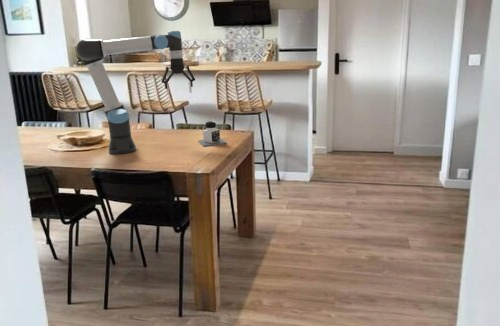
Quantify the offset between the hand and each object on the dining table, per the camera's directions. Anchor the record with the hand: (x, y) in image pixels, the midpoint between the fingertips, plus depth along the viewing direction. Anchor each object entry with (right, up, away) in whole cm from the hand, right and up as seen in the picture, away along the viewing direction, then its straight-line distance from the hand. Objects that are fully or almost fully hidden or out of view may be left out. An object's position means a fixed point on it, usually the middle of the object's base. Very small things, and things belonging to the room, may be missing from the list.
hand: (179, 93), depth 275 cm
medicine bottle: (+20, -30, -4) cm, 36 cm away
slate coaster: (+20, -30, -4) cm, 37 cm away
